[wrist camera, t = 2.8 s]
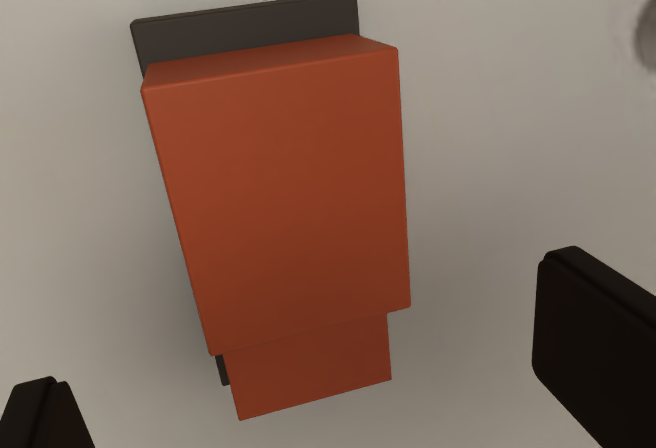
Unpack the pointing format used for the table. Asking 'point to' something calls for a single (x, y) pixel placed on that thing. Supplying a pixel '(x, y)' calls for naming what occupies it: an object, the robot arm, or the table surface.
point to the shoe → (283, 190)
